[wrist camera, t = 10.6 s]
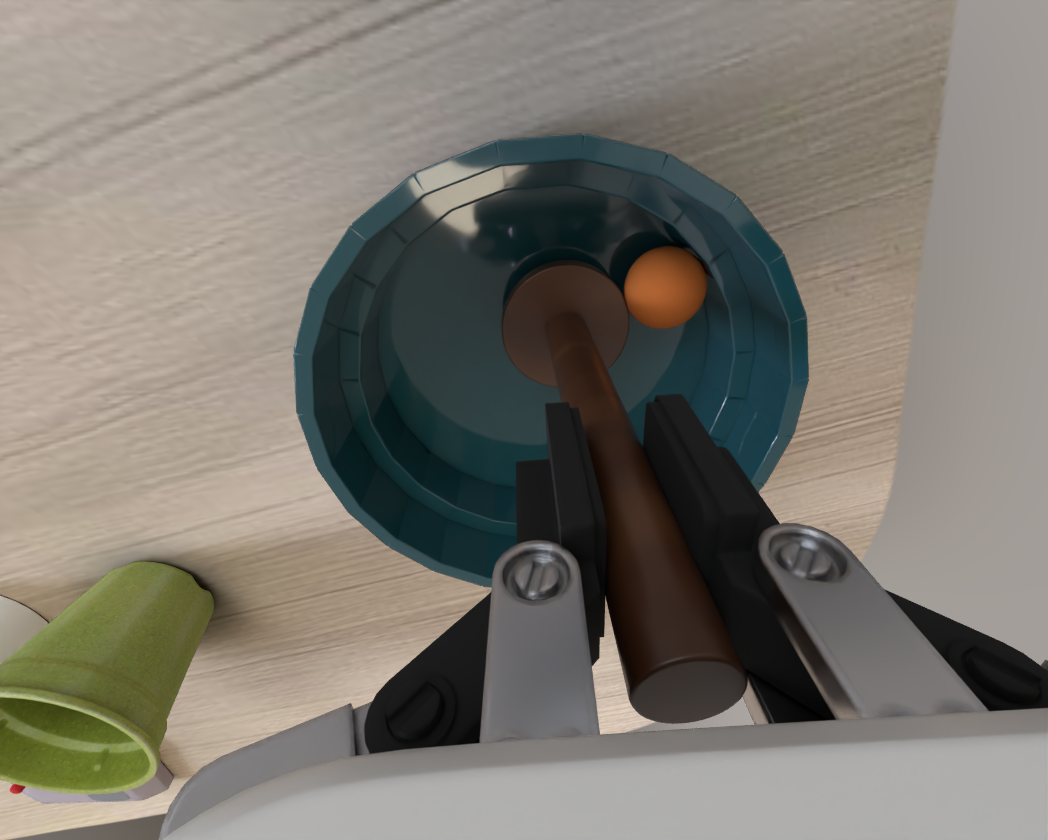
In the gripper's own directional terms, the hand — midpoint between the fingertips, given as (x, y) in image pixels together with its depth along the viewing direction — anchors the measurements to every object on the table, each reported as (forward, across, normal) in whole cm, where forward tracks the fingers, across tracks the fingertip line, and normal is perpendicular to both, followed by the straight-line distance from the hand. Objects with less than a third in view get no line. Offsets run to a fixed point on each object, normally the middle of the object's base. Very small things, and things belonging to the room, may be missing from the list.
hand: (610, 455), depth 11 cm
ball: (+9, -4, -1) cm, 10 cm away
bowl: (+11, +1, +2) cm, 11 cm away
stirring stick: (+9, 0, 0) cm, 9 cm away
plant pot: (+11, +25, +16) cm, 32 cm away
